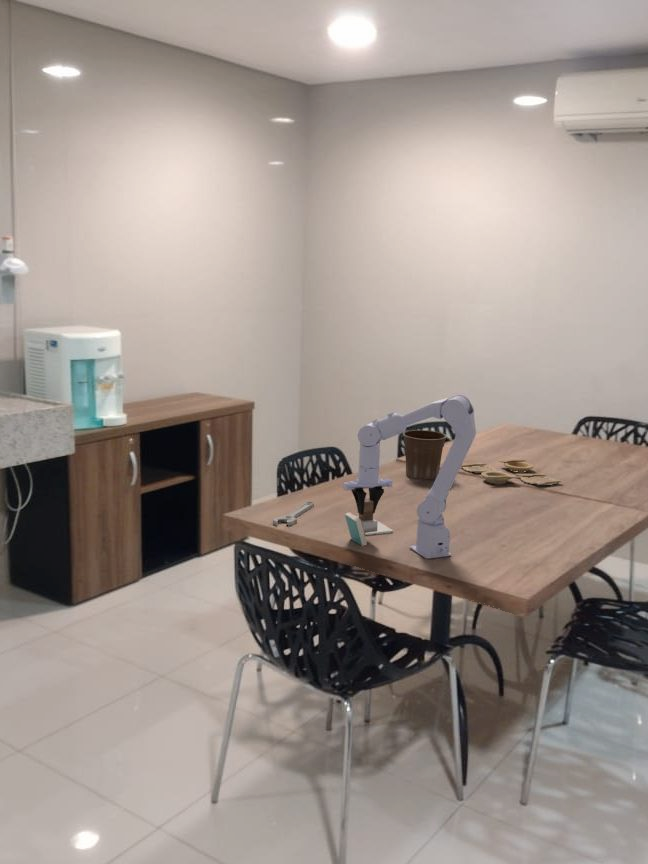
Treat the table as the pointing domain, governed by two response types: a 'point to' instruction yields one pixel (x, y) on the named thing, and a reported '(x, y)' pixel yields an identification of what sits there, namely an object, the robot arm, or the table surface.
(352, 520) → the tile
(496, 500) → the table surface
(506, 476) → the tableware set
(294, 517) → the adjustable wrench
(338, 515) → the table surface
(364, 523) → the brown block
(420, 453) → the plant pot
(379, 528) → the mat
